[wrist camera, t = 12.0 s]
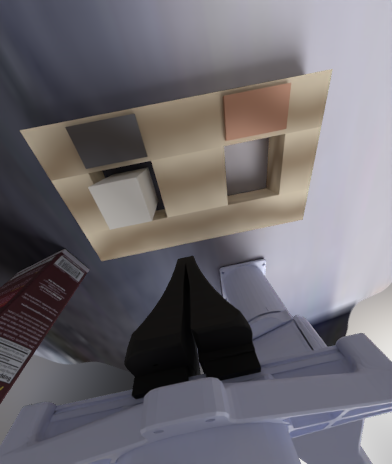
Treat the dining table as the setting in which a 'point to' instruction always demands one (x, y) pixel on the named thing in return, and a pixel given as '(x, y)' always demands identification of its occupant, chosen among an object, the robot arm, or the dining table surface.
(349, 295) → the dining table surface
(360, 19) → the dining table surface
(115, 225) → the plug
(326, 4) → the dining table surface
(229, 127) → the socket block
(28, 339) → the supplement box
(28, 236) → the dining table surface
